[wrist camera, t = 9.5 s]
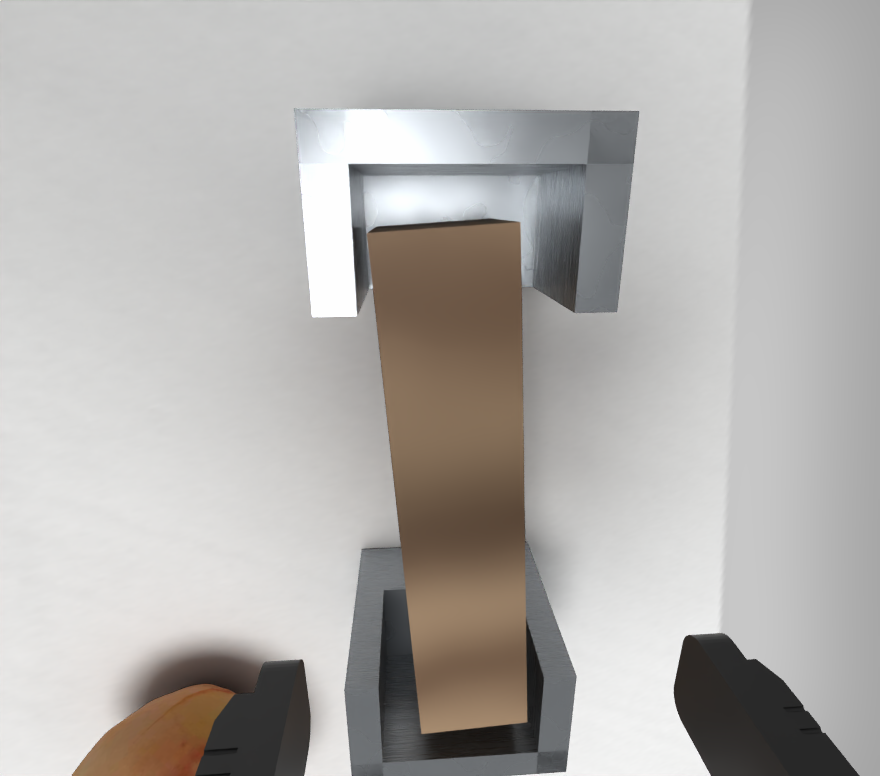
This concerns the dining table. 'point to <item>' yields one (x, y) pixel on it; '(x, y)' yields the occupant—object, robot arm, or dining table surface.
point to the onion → (159, 736)
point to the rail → (457, 459)
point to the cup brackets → (542, 266)
